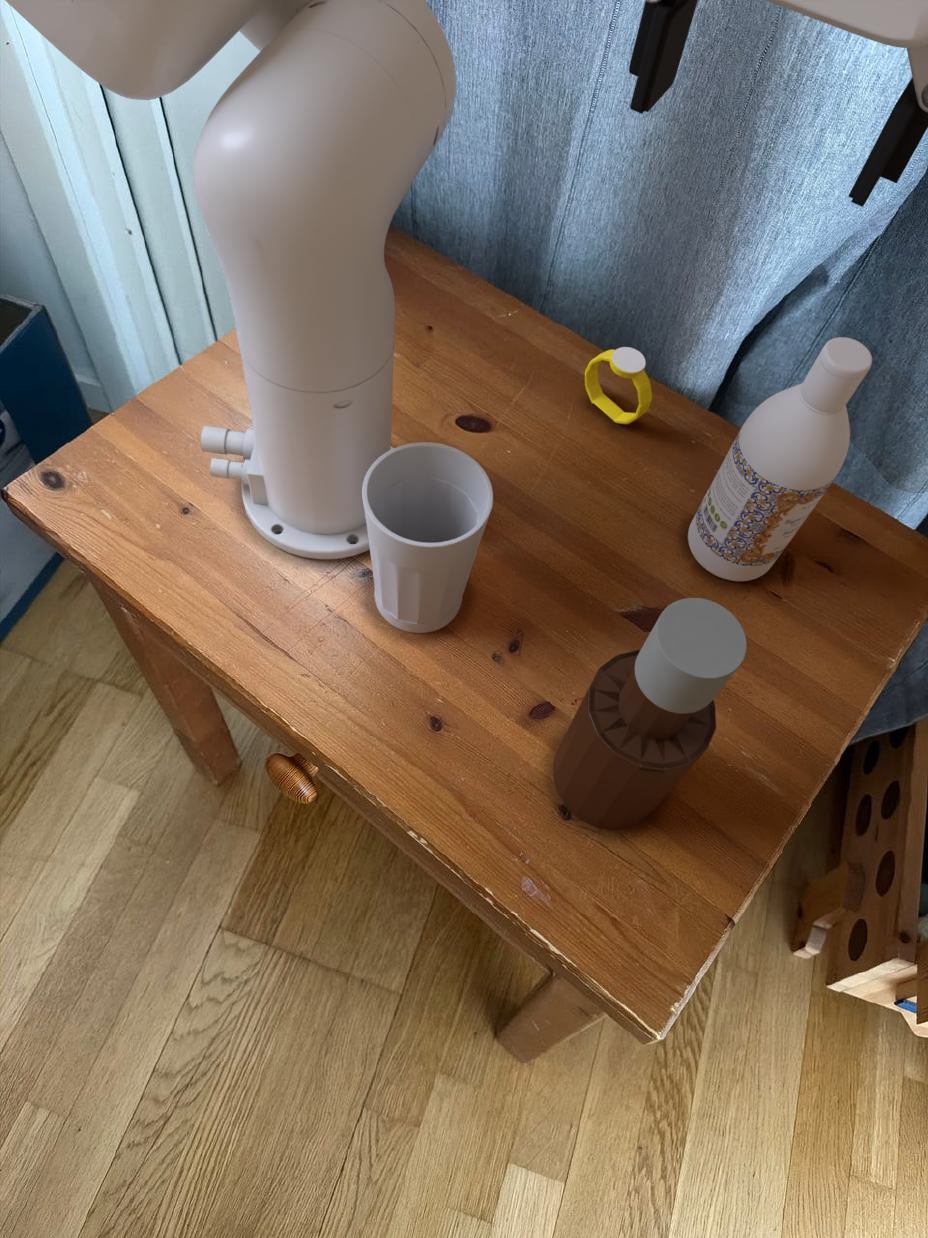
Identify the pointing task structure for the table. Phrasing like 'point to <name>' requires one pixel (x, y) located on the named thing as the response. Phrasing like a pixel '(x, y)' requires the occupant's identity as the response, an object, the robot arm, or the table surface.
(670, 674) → the bung
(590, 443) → the table surface
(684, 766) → the bottle
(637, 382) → the watch
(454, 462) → the cup
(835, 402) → the bath foam
